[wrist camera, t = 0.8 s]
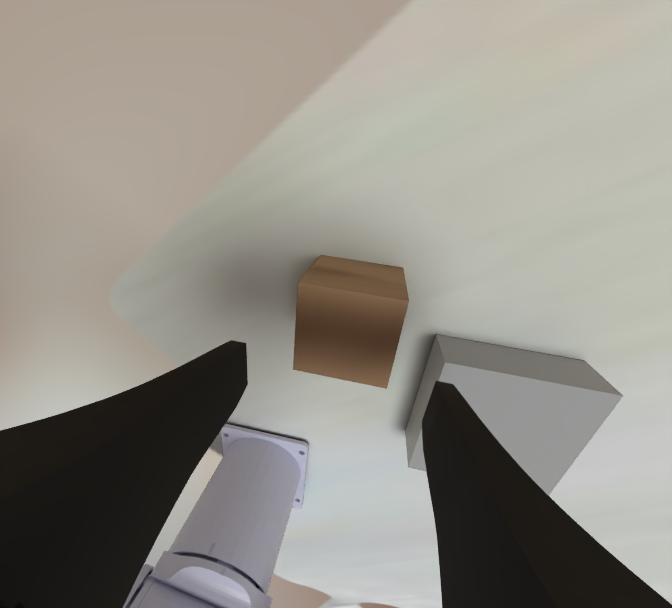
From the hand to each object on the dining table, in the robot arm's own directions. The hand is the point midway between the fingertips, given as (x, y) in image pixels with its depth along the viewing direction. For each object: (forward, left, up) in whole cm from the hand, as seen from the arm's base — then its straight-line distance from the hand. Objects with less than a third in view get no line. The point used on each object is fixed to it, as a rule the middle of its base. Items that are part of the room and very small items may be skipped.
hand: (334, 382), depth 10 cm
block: (0, 0, -8) cm, 8 cm away
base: (-6, -10, -8) cm, 14 cm away
